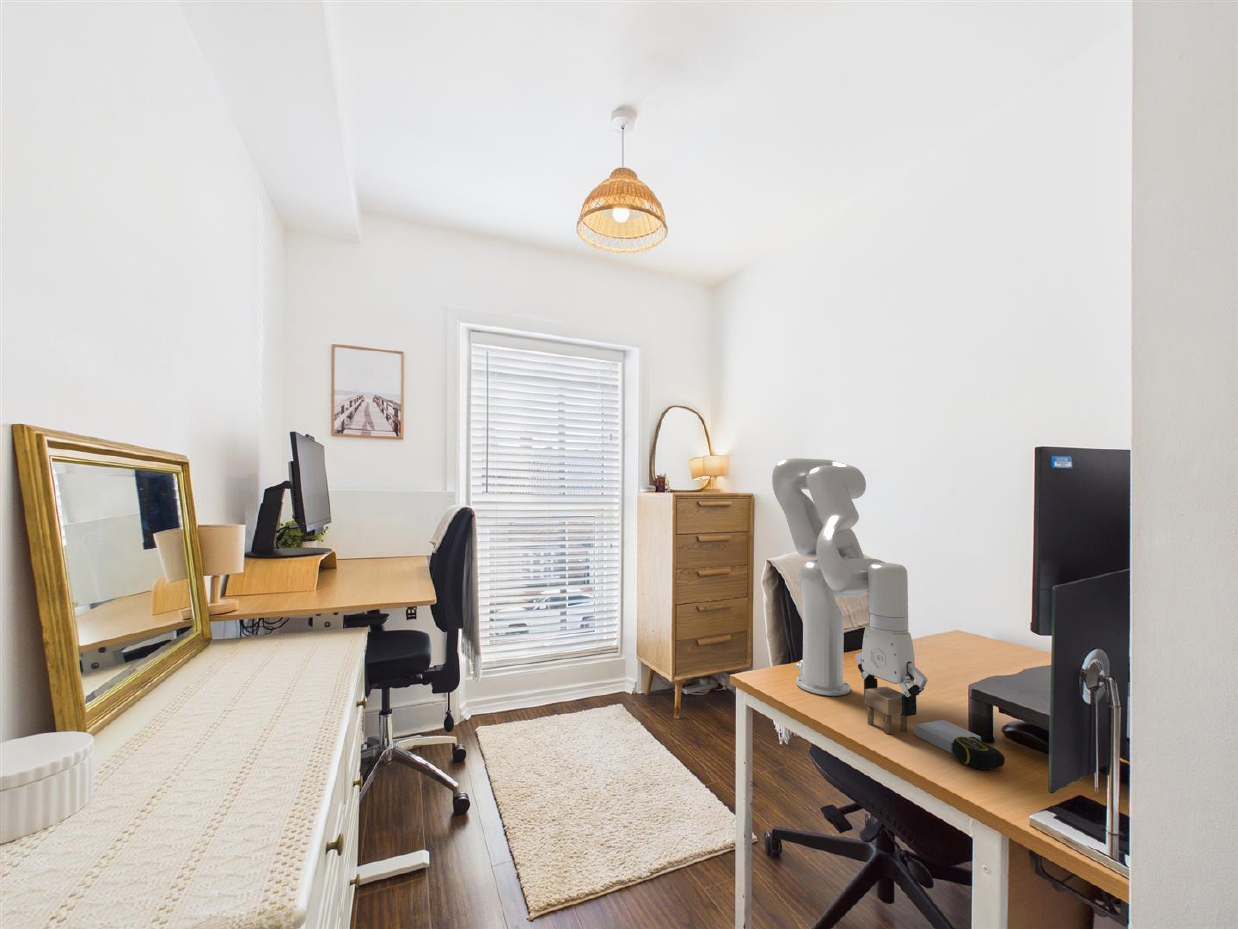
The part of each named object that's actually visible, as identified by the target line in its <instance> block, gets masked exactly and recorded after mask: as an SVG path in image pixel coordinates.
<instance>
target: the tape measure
mask: <svg viewBox="0 0 1238 929" xmlns="http://www.w3.org/2000/svg"><path fill="white" fill-rule="evenodd" d="M952 749H953V753H952V754H953V755H954V758H955V759H957V760H958V761H959V762H960V763H963V764H964V765H967V766H969V767H971V768H975V769H979V770H985V771H986V770H987V771H988V770H992V769H998V768H1001V767H1003V766H1004V765H1005V761H1006V760H1005V759H1006V758H1005V755H1004V754H1003V753H1002V752H1000V751H999V750H998V749H996V748H995V747H993V746H991V745H990V744H988V743H986V742H984V741H982V739H981V740H979V739H977V738H975V737H957V738H956V739H954V743H953V747H952Z"/></svg>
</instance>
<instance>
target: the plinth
mask: <svg viewBox="0 0 1238 929" xmlns="http://www.w3.org/2000/svg"><path fill="white" fill-rule="evenodd" d="M914 736H916V737H919V738H921V739H922V740H923V741H924V740H925V741H926V742H928V743H930V744H932V745H933V746H937V748H940V749H941V750H944V751H946V752H948V753H950V754H954V753H953V749H952V747H953V743H954V739H956V738H957V737H975V738H977V739H979V740H981V741H982V736H980V735H978V734H976V733H974V732H971V731H970V730H967V729H965V728H963V727H960V726H958V725H956V724H955V723H954V724H953V723H952V722H949V721H947V720H944V719H940V720H939V719H938V720H935V721H929V722H924V723H923V722H922V723H917V724H914Z"/></svg>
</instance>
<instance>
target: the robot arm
mask: <svg viewBox="0 0 1238 929" xmlns="http://www.w3.org/2000/svg"><path fill="white" fill-rule="evenodd" d="M866 481H867V480H866V478H865V475H864V474H863V473H862V471H861V470H860V469H858V468H857V467H856V466H853V465H849V464H845V463H842V462H840V461H836V460H831V459H821V458H819V459H817V458H798V457H794V458H786V459H783V460H781V461H779V462H777V463H776V464H775V465H774V468H773V471H772V475H771V483H772V490H773V492H774V495H775V498H776V499H777V501H778V503H779V505H780V507H781V510H782V511H783V513H784V516H785V519H786V522H787V525H788V528H789V532H790V534H791V537H792V538H791V539H792V541H793V544H794V547H795V550H796V551H797V553H798V555H800V556H801V557H803V558H807V559H814V560H810V561H807V562H806V563H804V564H803V565H802V567H801V568H800V571H799V584H800V590H801V596H802V612H803V613H802V614H803V615H802V635H803V636H802V659H801V660H799V662H796V663H795V668H796V669H798V670H800V675H797V677H796V679H795V682H796V685H797V687H799V688H800V689H802V690H804V691H806V692H809V693H813V694H816V695H821V696H830V697H831V696H832V697H839V696H840V697H841V696H844V695H847V694H849V693H850V692H851V686H850V683H848V682H847V681H845V680H844V644H845V643H844V639H845V638H844V636H845V635H844V633H845V632H844V631H845V628H844V627H845V626H844V625H845V624H844V622H845V621H844V615H843V612H842V610H841V608H840V607H839V605H838V604H837V601H836V599H840V598H841V599H842V598H843V599H844V598H845V599H846V598H861V597H864V596H866V595H867V598H868V600H867V605H868V606H867V607H868V611H867V613H866V618H867V619H868V620H867V621H868V625H865V628H864V633H863V638H862V646H861V647H862V648H861V649H862V650H861V652H858V653H856V654H855V655H854V658H855V661H856V664H857V668H858V669H859V672H860V673H861V675H860V676H861V678H862V679H863V696H864V697H863V698H864V699H865V689H871V688H878V687H879V686H878V685H879V684H878V679H881V680H882V681H885V682H888V683H890V684H893V685H898V686H900V689H901V691H902V693H903V694H905V695H902V714H903V716H906V717H907V718H908V717H912V716H916V715H917V712H918V711H917V696H919V695H920V694H921V692H923V691H924V690H925V686H926V685H927V682H928V677H927V676H926V675H925V674H924V673H922V672H921V670H919V669H918V668H917V667H916V660H915V651H914V643H913V639H912V635H911V633H910V631H909V591H908V590H909V589H908V588H909V587H908V585H909V584H908V582H909V580H908V570H907V568H906V567H905V566H904V565H902V564H899V563H893V562H892V563H891V562H886V561H883V560H881V559H876V558H865V555H864V553H863V550H862V547H861V546H860V543H859V540H858V538H857V535H856V533H855V532H854V531H853V529H852V527H855V525H856V524H857V523H858V522H859V518H860V515H859V512H858V510H857V508H856V506H855V504H854V502H853V500H856V499H859V498H860V497H862V496H863V495H864V494H865V491H866V489H867V482H866ZM802 490H808V491H809V494H810V495H811V498H810V497H809V496H808V495H807V494H806V493H804V492H803V491H802ZM914 681H915V682H914Z"/></svg>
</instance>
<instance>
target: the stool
mask: <svg viewBox="0 0 1238 929" xmlns="http://www.w3.org/2000/svg"><path fill="white" fill-rule="evenodd" d="M902 695H905V694H904V692H900V691H898V690H896V689H894V688H892V687H889V686H880V687H879V686H878V688H871V689H865V698H864V705H867V724H868V725H870V726H874V725H875V710H877V711H879V712H881V713H883V715H882V716H883V719H882V720H883V722H884V734H887V735H892V715H897V714H900V731H902V732H908V716H907V717H906V716H903V714H902Z"/></svg>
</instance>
